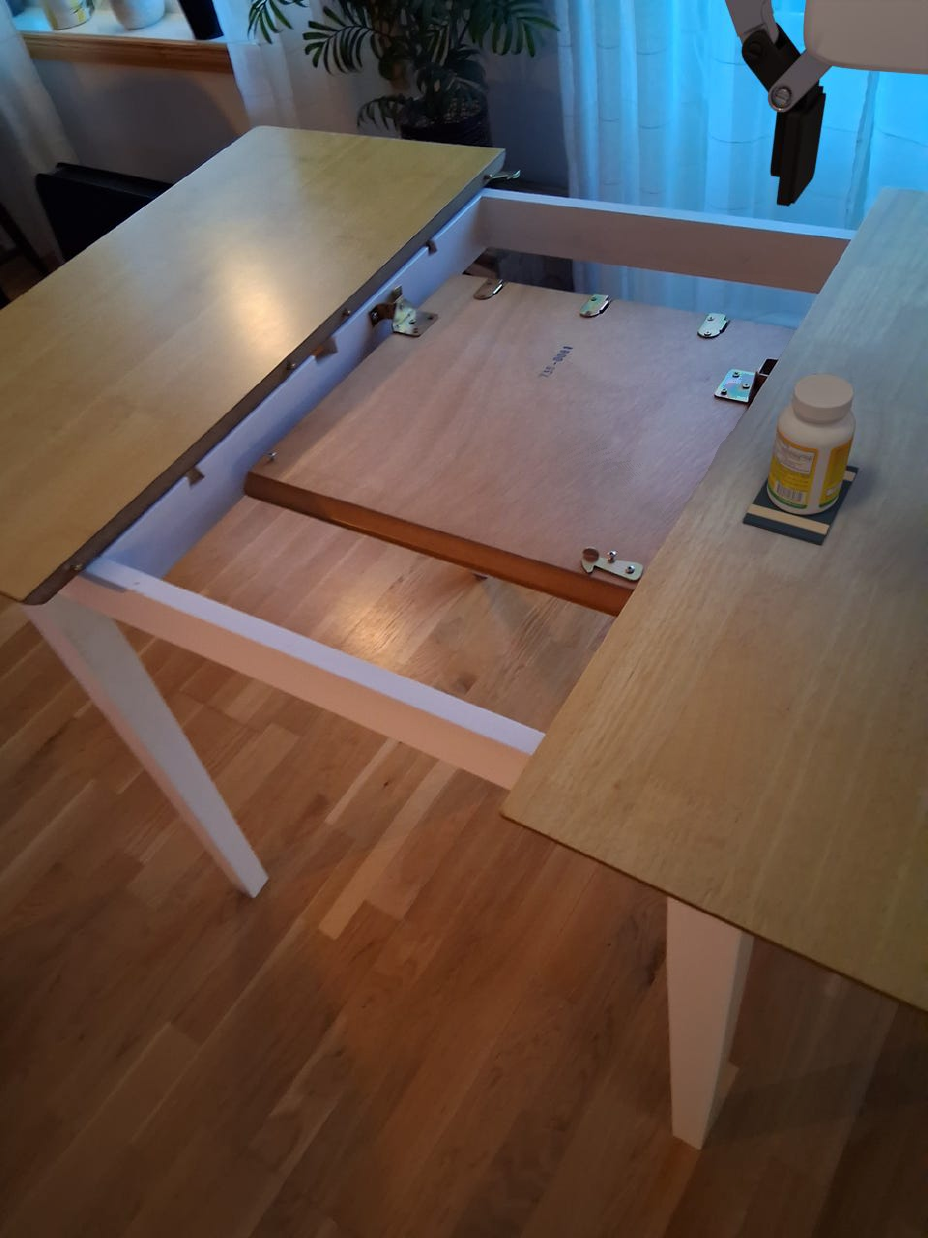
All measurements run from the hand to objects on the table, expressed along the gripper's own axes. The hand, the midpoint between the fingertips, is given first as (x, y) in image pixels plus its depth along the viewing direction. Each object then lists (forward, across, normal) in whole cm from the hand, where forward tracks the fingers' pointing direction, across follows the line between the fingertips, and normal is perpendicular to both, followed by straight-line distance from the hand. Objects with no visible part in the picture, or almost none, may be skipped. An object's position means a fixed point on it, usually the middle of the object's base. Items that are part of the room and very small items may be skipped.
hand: (904, 206), depth 41 cm
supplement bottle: (+30, +5, -13) cm, 33 cm away
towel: (+30, +5, -14) cm, 34 cm away
